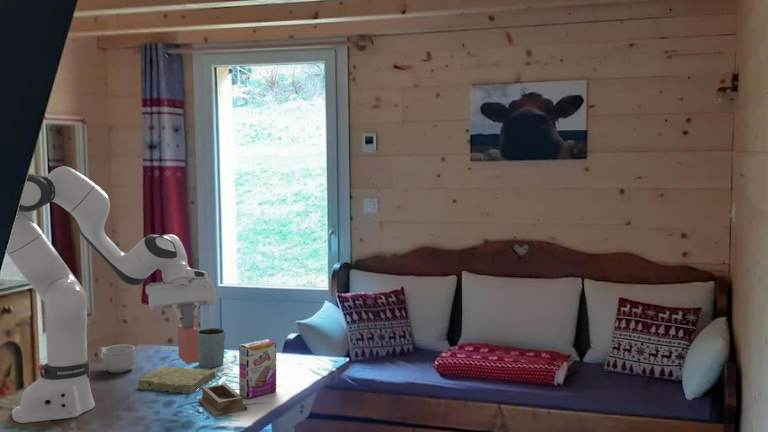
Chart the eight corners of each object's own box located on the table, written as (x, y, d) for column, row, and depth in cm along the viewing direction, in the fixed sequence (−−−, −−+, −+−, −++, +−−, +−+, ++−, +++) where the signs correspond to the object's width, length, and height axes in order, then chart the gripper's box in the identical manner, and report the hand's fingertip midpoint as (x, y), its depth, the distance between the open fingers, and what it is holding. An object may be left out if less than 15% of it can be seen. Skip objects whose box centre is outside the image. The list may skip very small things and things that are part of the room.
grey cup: (199, 360, 278) (198, 328, 277) (227, 359, 279) (226, 327, 278) (195, 368, 268) (194, 334, 267) (224, 367, 269) (224, 334, 268)
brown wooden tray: (214, 416, 220) (214, 402, 220) (198, 400, 234) (197, 388, 234) (247, 410, 225) (247, 396, 225) (229, 395, 239) (229, 382, 239)
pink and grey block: (186, 363, 226) (185, 310, 225) (178, 356, 234) (177, 305, 233) (198, 362, 228) (197, 309, 227) (190, 355, 236) (188, 304, 235)
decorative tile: (162, 374, 263) (161, 364, 263) (216, 378, 259) (216, 367, 258) (133, 391, 245) (133, 380, 244) (191, 395, 241) (191, 384, 240)
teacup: (142, 369, 268) (141, 346, 267) (116, 377, 259) (115, 354, 258) (116, 363, 275) (115, 341, 275) (90, 370, 266) (89, 348, 265)
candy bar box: (248, 400, 235) (247, 347, 233) (238, 396, 238) (237, 344, 237) (277, 391, 242) (276, 340, 241) (268, 388, 246) (267, 338, 244)
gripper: (145, 277, 230) (154, 315, 222) (212, 271, 240) (222, 308, 232) (142, 289, 234) (151, 327, 226) (208, 283, 244) (218, 319, 237)
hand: (188, 317), depth 230 cm, fingers closed on pink and grey block, 3 cm apart
